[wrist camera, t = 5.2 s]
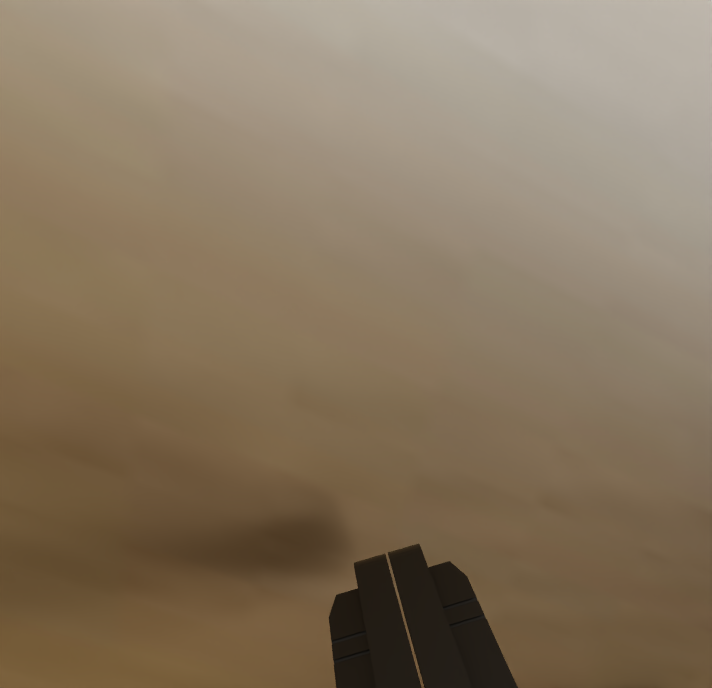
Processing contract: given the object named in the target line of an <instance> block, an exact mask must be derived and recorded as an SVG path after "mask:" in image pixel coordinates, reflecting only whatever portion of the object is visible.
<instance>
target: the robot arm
mask: <svg viewBox="0 0 712 688" xmlns="http://www.w3.org/2000/svg"><path fill="white" fill-rule="evenodd" d="M388 555H389V559H390V563H391V566H392V570H393V574H394V577H395V581H396V585H397V589H398V592H399V596H400V600H401V603H402V607H403V611H404V614H405V618H406V622H407V625H408V629H409V633H410V636H411V640H412V644H413V647H414V651H415V654H416V658H417V662H418V665H419V669H420V673H421V676H422V680H423V683H424V687H425V688H518V687H517V685H516V683H515V681H514V679H513V677H512V674H511V672H510V670H509V668H508V666H507V663H506V661H505V659H504V657H503V655H502V652H501V650H500V648H499V646H498V644H497V641H496V639H495V637H494V635H493V633H492V630H491V628H490V626H489V624H488V622H487V619H486V618H485V616H484V613H483V611H482V609H481V606H480V604H479V602H478V601H477V598H476V595H475V593H474V591H473V589H472V587H471V584H470V582H469V580H468V578H467V576H466V575H465V574H464V573H462V572H461V571H460V570H459V569H458V568H457V567H456V566H454V565H453V564H452V563H451V562H450V561H449V562H445V563H442V564H439V565H435V566H432V567H429V568H428V566H427V563H426V561H425V558H424V555H423V552H422V550H421V547H420V545H419V544H416V545H412V546H409V547H406V548H402V549H399V550H395V551H392V552H388ZM354 568H355V574H356V579H357V584H358V589H355V590H351V591H348V592H345V593H341V594H338V595H336V597H335V600H334V604H333V607H332V610H331V613H330V616H329V623H330V632H331V641H332V651H333V660H334V670H335V679H336V688H421V684H420V681H419V677H418V673H417V670H416V666H415V662H414V659H413V655H412V651H411V647H410V644H409V640H408V636H407V633H406V629H405V625H404V622H403V618H402V614H401V610H400V607H399V603H398V599H397V596H396V592H395V588H394V585H393V581H392V577H391V574H390V570H389V566H388V563H387V559H386V555H385V554H382V555H379V556H375V557H372V558H369V559H365V560H362V561H358V562H355V563H354Z"/></svg>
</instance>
